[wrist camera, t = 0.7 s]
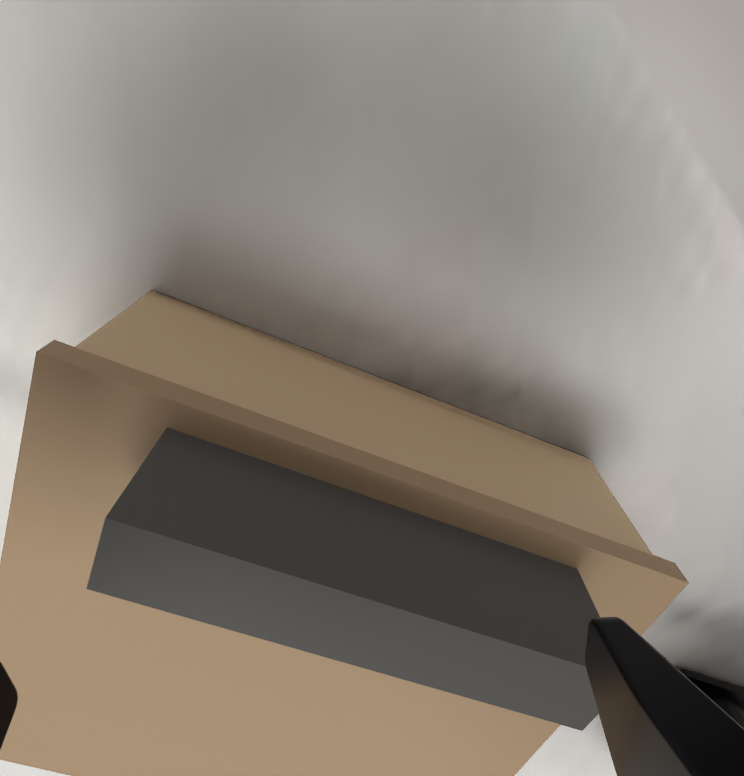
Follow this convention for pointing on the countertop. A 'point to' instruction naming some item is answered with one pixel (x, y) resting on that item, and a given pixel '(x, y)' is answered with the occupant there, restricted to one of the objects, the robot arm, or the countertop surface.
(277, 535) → the carton lid
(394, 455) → the carton
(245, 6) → the countertop surface
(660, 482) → the countertop surface
